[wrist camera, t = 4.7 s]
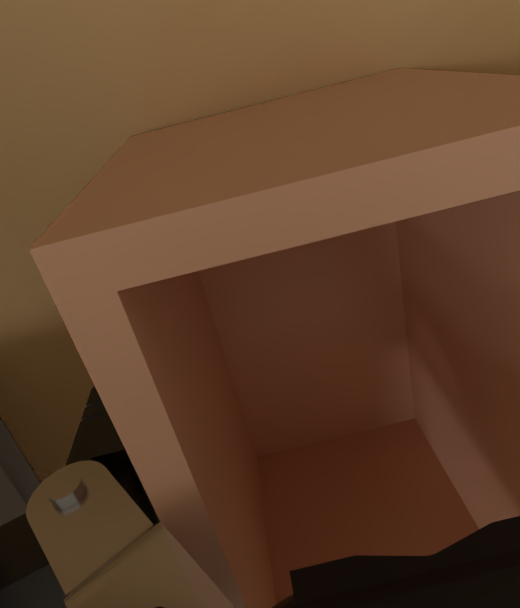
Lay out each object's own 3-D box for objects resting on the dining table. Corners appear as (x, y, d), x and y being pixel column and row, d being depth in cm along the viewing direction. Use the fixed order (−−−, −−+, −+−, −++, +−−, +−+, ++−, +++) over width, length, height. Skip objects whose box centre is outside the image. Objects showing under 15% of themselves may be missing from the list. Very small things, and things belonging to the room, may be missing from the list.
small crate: (131, 136, 11) (29, 249, 4) (399, 67, 11) (680, 85, 4) (240, 461, 15) (266, 740, 9) (427, 415, 15) (582, 665, 9)
